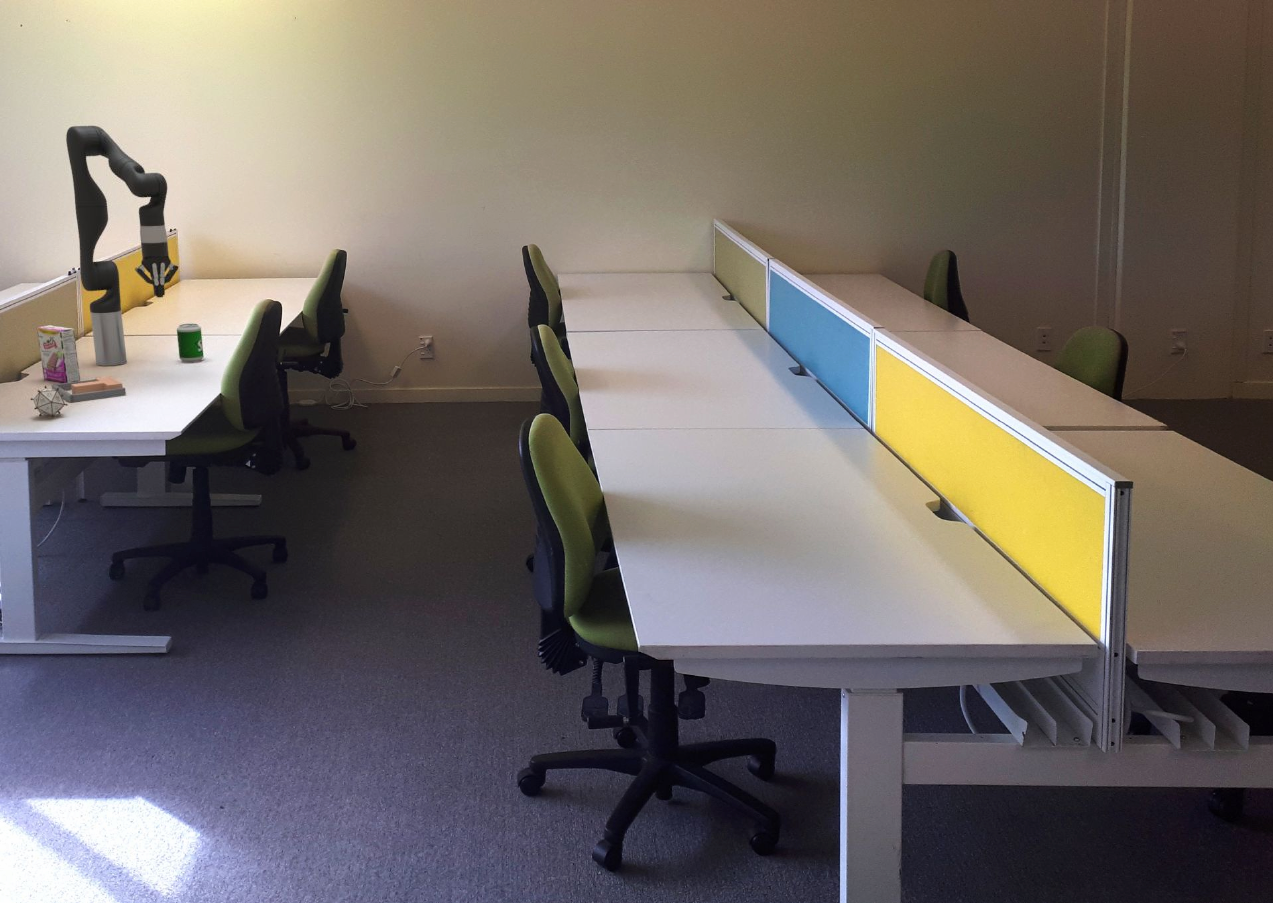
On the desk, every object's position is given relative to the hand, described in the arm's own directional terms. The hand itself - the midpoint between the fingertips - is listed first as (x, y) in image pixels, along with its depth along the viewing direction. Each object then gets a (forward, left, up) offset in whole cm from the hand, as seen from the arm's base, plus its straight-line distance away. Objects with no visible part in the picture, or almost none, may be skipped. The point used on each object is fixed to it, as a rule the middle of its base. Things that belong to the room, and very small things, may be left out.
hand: (159, 297), depth 374 cm
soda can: (-18, +14, -25) cm, 34 cm away
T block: (+10, -25, -25) cm, 36 cm away
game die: (+32, -43, -25) cm, 59 cm away
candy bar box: (-13, -28, -25) cm, 40 cm away
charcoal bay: (+10, -26, -25) cm, 37 cm away
